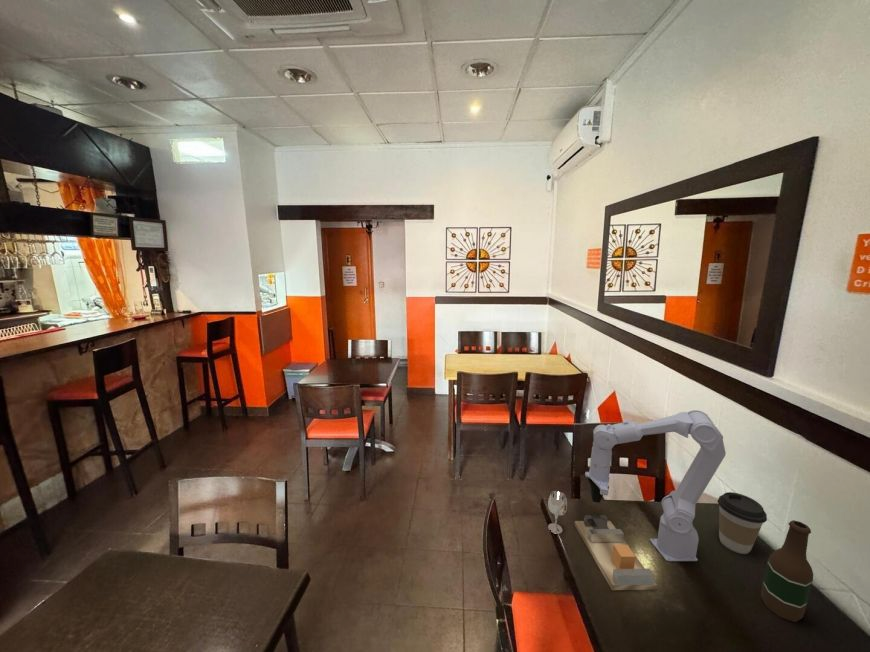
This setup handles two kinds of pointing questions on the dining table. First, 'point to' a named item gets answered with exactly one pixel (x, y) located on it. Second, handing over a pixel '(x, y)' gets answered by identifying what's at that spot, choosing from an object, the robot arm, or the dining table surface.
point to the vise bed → (608, 557)
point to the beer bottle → (789, 575)
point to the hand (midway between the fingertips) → (595, 500)
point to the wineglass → (557, 509)
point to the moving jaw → (602, 529)
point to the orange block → (623, 557)
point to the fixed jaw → (633, 577)
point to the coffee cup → (739, 521)
